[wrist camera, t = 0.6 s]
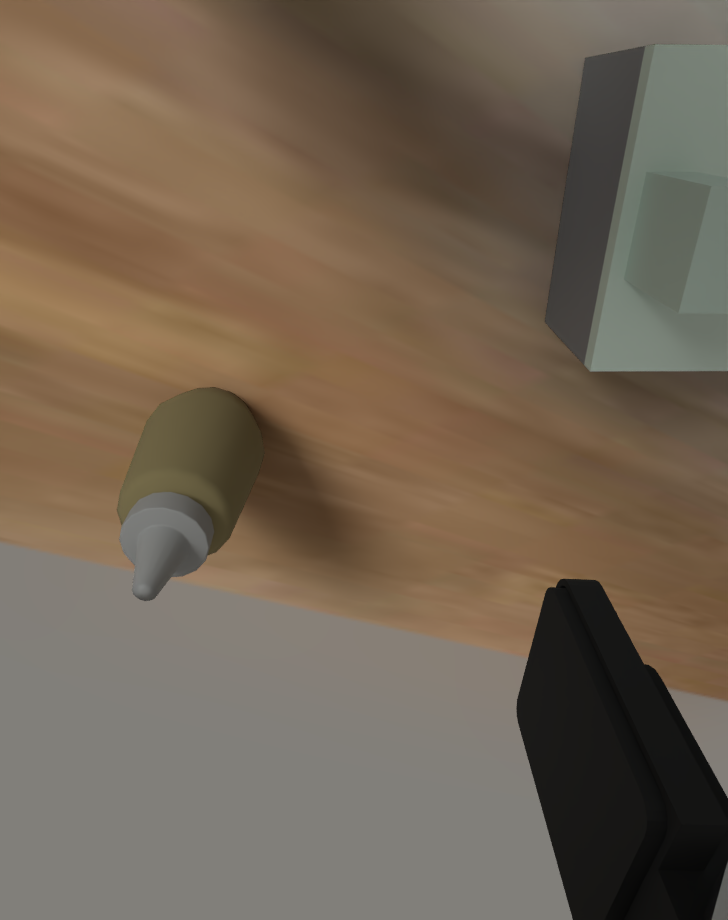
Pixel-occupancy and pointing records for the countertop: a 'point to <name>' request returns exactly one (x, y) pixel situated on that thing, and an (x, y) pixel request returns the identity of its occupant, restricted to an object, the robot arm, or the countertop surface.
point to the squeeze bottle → (187, 485)
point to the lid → (669, 222)
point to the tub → (591, 192)
